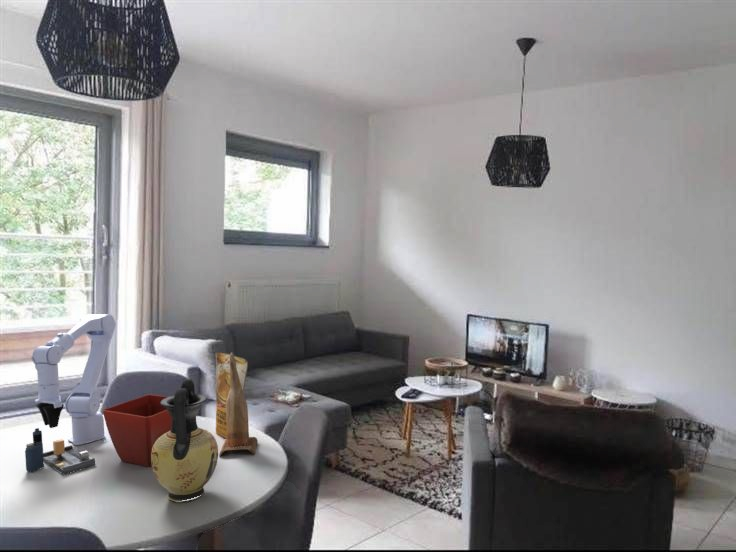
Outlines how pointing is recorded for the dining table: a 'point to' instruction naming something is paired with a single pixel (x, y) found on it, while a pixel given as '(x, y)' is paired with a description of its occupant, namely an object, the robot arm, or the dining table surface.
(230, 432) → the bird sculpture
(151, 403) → the plant pot
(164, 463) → the amphora
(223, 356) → the pancake mix bag
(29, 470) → the vaping device
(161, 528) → the dining table surface
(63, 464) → the mixer console
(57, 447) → the orange fader
